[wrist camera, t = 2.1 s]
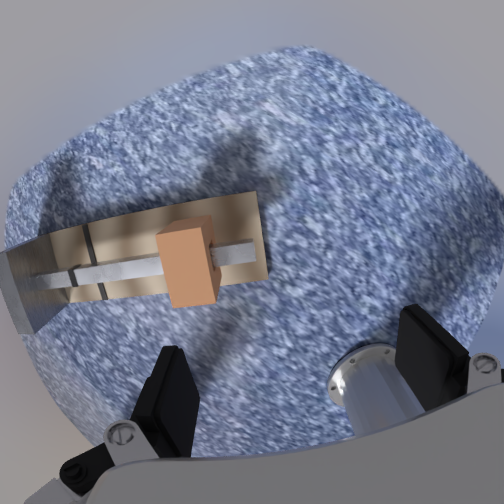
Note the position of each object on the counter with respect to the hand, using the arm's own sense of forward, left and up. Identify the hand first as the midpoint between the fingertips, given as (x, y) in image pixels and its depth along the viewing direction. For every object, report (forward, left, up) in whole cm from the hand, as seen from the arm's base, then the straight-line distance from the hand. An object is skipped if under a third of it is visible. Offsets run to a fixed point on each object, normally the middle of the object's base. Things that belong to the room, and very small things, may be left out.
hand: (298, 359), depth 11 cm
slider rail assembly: (+16, 0, -22) cm, 28 cm away
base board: (+16, 0, -22) cm, 28 cm away
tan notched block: (+7, 0, -20) cm, 21 cm away
